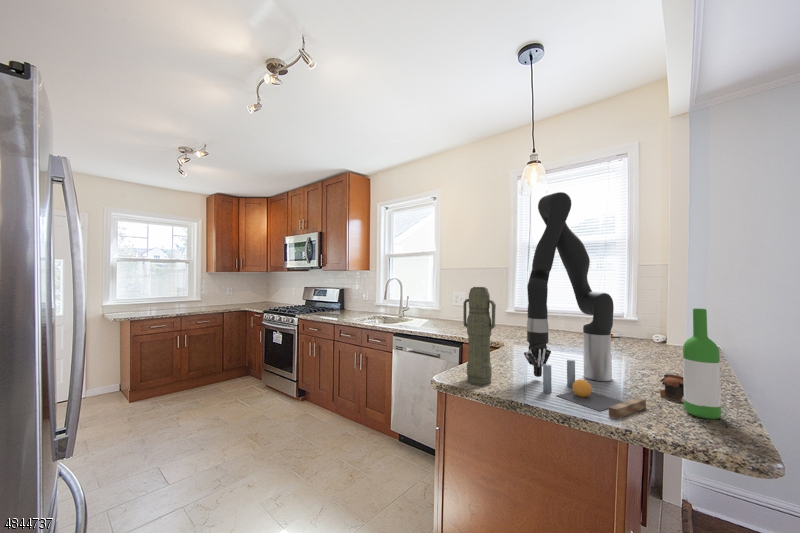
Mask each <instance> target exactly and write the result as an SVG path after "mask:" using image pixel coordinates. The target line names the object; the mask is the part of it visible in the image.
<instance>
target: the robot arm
mask: <svg viewBox="0 0 800 533" xmlns="http://www.w3.org/2000/svg"><path fill="white" fill-rule="evenodd" d="M571 208H572V199H571V197H570V195H569V194H567V193H566V192H562V191H558V192H554V193H550V194H546V195H544V196H543V197H541V198H540V199H539V201H538V203H537V210H538V213H539V216H540V217H541V219H542V221H543V222H544V224H545V229H544V231H543V233H542V236H541V237H540V239H539V241H538V243H537V244H536V247H535V250H534V254H533V258H532V264H531V271H530V275H529V279H528V282H527V285H526V288H527V304H528V305H527V321H526V342H528V346H527V348H528V350H527V351H526V352H524V353H523V355H524V357H525V358H526V360H527V362H528V364H529V365H531V366H533V376H535V377H537V378H541V377H543V364H547V362H548V360H549V358H550V355H551V354H552V351H551V350H549V349H548V346H547V345H548V344H549V341H550V340H549V321H548V320H549V319H548V317H549V315H548V291H549V290H548V289H549V288H548V287H549V286H548V284H549V277H550V272H551V270H552V268H553V264H554V260H555V255H556V250H557V252H558V255H559V258H560V260H561V262H562V265H563V267H564V269H565V272H566V274H567V276H568V279H569V282H570V284H571V286H572V289H573V294H574V297H575V300H576V304H577V307H578V308H579V310H580V311H581V313H583V314H585V315H588V316H592V321H591V322H590V323H589V322H588V323H586V324H584V325H583V327H582V330H583V331H582V335H583V337H582V338H583V339H582V340H583V342H582V343H583V344H582V345H583V376H584V377H585V378H586V379H589V380H592V381H597V382H610V381H612V379H613V362H612V360H613V359H612V358H613V355H612V328H613V325H614V311H615V310H614V308H615V307H614V306H615V305H614V301H613V297H612V296H611V295H610V294H609V293H607V292H603V291H602V292H601V291H598V292H596V291H592V288H591V286H590V284H589V281H588V275H589V274H588V273H589V268H590V263H591V262H590V259H591V258H590V256H589V253H588V251H587V249H586V248H585V244H584V243H583V242H582V240H581V239H580V238H579V237H578V235H576V234H575V233H574V231H573V230H572V229H571V228H570V227H569V226H568V224H567V219H568V217H569V215H570V212H571Z"/></svg>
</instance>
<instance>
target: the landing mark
mask: <svg viewBox="0 0 800 533" xmlns="http://www.w3.org/2000/svg"><path fill="white" fill-rule="evenodd" d="M556 397H557V398H560V399H563V400H566V401H569V402H572V403H575V404H577V405H580V406H583V407H586V408H588V409H592V410H594V411H597V412H603V411H605V410H609V407H611V406H614V405H617V404H620V403H623V402H624V401H623V400H620V399H618V398H613V397H609V396H606V395H603V394H600V393H598V392H594V391H592V392H591V394H590V395H589V396H588V397H579V396H577V395H576V394H575V393H574V391H572V390H571V391H569V392H563V393H560V394H556Z"/></svg>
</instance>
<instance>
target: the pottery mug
mask: <svg viewBox="0 0 800 533" xmlns="http://www.w3.org/2000/svg"><path fill="white" fill-rule="evenodd" d="M659 382H660V383H661V385H662V386H663V385H664V389H660V390H659V393H660V397H662V398H668V399H670V400H673V401H676V402H682V400H683V398H684V379H683V376H680V375H678V374H677V375H676V374H667V373H666V374H663V378H661V379H660V380H659Z"/></svg>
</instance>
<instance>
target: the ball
mask: <svg viewBox="0 0 800 533" xmlns="http://www.w3.org/2000/svg"><path fill="white" fill-rule="evenodd" d="M571 388H572V390H573V391H574V393H575V394H576V395H577V396H579V397H588V396H589V395H590V394H591V392H593V391H592V390H593V388H592V385H591V383H589V382H588V381H587V380H585V379H580V378H579V379H577V380H576V379H575V382H574V383H573V386H572V387H571Z"/></svg>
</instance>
